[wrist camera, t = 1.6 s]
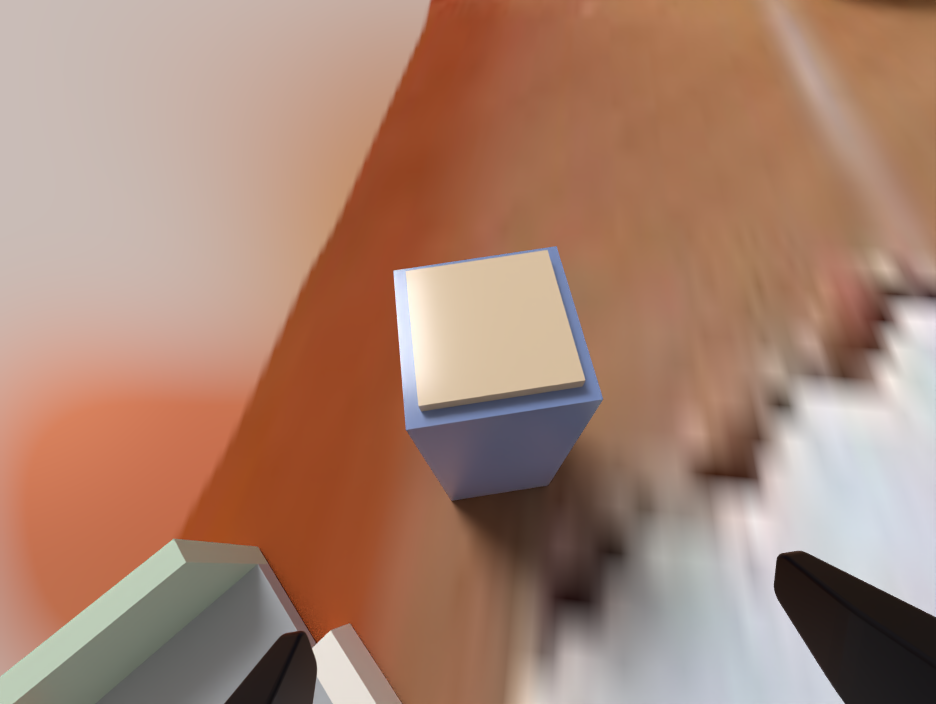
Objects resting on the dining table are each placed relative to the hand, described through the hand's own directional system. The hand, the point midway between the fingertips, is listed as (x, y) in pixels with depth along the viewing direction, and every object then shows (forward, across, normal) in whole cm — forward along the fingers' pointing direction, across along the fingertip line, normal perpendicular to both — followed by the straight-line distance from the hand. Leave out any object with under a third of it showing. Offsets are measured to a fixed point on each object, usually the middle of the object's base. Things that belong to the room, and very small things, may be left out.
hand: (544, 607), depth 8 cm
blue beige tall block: (+13, 0, +4) cm, 14 cm away
